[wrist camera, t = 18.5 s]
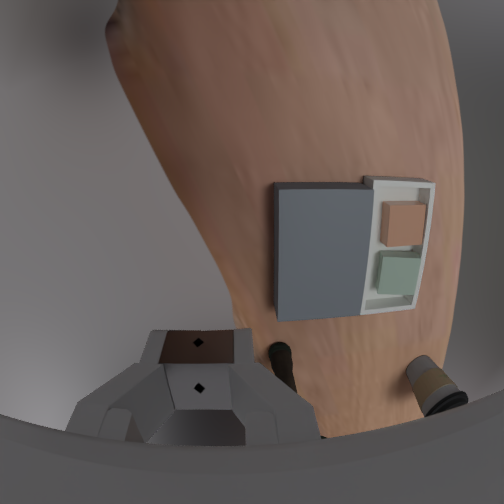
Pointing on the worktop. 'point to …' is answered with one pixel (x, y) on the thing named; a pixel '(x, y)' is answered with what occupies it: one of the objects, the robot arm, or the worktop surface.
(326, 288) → the dark grey slab
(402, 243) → the tile
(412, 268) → the tile
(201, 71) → the worktop surface
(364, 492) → the robot arm
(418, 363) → the coffee cup
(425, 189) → the box
